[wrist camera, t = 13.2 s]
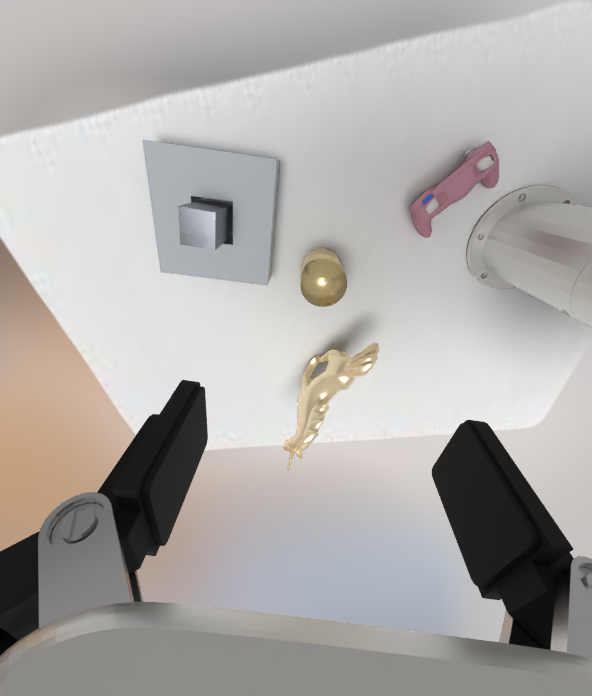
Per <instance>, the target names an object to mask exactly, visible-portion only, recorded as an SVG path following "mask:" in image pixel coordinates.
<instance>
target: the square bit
mask: <svg viewBox="0 0 592 696" xmlns="http://www.w3.org/2000/svg"><path fill="white" fill-rule="evenodd" d="M178 216H179V234H180V245H186V246H192V247H198V248H204V249H210V250H216V249H217V248H219V247H220V246H221V245H222V244H223V243H224V242H225V241H227V240H228V239H229V238H230V237H231V236H232V235H233V202H228V201H222V200H217V199H211V198H206V199H202V200H199V201H195V202H191V203H187V204H184V205H180V206H178Z"/></svg>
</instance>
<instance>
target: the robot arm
mask: <svg viewBox="0 0 592 696" xmlns="http://www.w3.org/2000/svg"><path fill="white" fill-rule="evenodd" d="M518 197H519V198H518ZM478 235H479V236H478ZM467 262H468V266H469V269H470V271H471V273H472V274H473V276H474V277H475V278H476V279H478V280H479V281H480V282H482V283H483V284H485V285H487V286H490V287H492V288H499V289H508V288H514V287H517V288H519V289H521V290H523V291H524V292H526V293H528V294H530V295H532V296H534V297H536V298H537V299H539V300H541V301H543V302H545V303H547V304H548V305H550V306H552V307H554V308H556V309H558V310H559V311H561V312H563V313H565V314H567V315H569V316H571V317H572V318H574V319H576V320H578V321H580V322H582V323H583V324H585V325H587V326H589V327H591V328H592V207H589V206H580V205H575V203H574V200H573V199H572V198H571V197H570V195H569V194H568V193H566V192H565V191H563V190H561V189H559V188H556V187H552V186H530V187H526V188H523V189H519V190H517V191H515V192H513V193H511V194H509V195H507V196H505V197H504V198H502V199H501V200H499V201H498V202H497V203H496V204H494V205H493V206H492V207H491V208H490V209H489V210H488V211H487V212H486V213H485V214H484V215H483V217H482V218H481V219H480V221H479V222H478V224H477V225H476V227H475V229H474V231H473V233H472V235H471V237H470V240H469V244H468V249H467ZM207 438H208V434H207V417H206V400H205V388H204V387H200V383H199V382H194V381H187V380H182V381H181V382H180V384H179V385H178V387H177V388H176V390H175V391H174V393H173V394H172V396H171V398H170V399H169V401H168V402H167V404H166V405H165V407H164V408H163V410H162V412H161V413H160V415H158V414H152V415H151V416H150V417H149V418H148V419H147V420H146V422H145V423H144V425H143V426H142V428H141V429H140V430H139V432H138V433H137V435H136V436H135V438H134V439H133V441H132V442H131V444H130V445H129V447H128V448H127V450H126V451H125V452H124V454H123V455H122V457H121V458H120V460H119V461H118V463H117V464H116V466H115V467H114V469H113V470H112V472H111V473H110V474H109V476H108V477H107V479H106V480H105V482H104V483H103V485H102V486H101V488H100V489H99V491H98V492H97V493H96V492H90V493H83V494H80V495H77V496H74V497H72V498H70V499H68V500H66V501H65V502H63V503H62V504H60V505H59V506H58V507H57V508H56V509H54V510H53V511H52V512H51V514H50V515H49V516H48V517H47V518H46V519H45V521H44V523H43V525H42V527H41V528H40V531H39V532H37V533H35V534H33V535H31V536H30V537H27V538H26V539H24V540H22V541H20V542H18V543H16V544H14V545H12V546H10V547H8V548H6V549H4V550H3V551H0V696H592V559H590V558H587V557H579V556H578V557H576V558H573V557H572V555H571V554H570V551H572V550H573V548H572V546H571V545H570V543H569V542H568V540H567V539H566V537H565V536H564V534H563V533H562V532H561V530H560V529H559V527H558V526H557V524H556V523H555V521H554V520H553V518H552V517H551V515H550V514H549V512H548V511H547V510H546V508H545V507H544V505H543V504H542V502H541V501H540V499H539V498H538V496H537V495H536V493H535V492H534V491H533V489H532V488H531V486H530V485H529V483H528V482H527V481H526V479H525V478H524V476H523V475H522V473H521V471H520V470H519V469H518V467H517V466H516V464H515V463H514V461H513V460H512V459H511V457H510V455H509V454H508V453H507V451H506V450H505V448H504V447H503V445H502V444H501V442H500V441H499V439H498V438H497V436H496V435H495V433H494V432H493V430H492V429H491V428H490V426H489V425H488V424H487V423H485V422H480V421H473V420H467V421H465V422H464V423H462V424H460V425H459V427H458V429H457V430H456V432H455V433H454V435H453V436H452V438H451V439H450V441H449V443H448V444H447V446H446V447H445V449H444V450H443V452H442V454H441V455H440V457H439V458H438V460H437V462H436V463H435V464H434V466H433V468H432V477H433V480H434V482H435V485H436V488H437V490H438V493H439V496H440V498H441V501H442V504H443V506H444V509H445V511H446V514H447V517H448V519H449V522H450V525H451V527H452V530H453V532H454V535H455V537H456V540H457V543H458V545H459V548H460V551H461V553H462V556H463V559H464V561H465V564H466V566H467V569H468V571H469V574H470V577H471V579H472V581H473V582H474V584H475V585H476V586H478V588H479V591H480V593H481V596H482V598H487V599H495V600H500V599H502V600H503V603H504V605H505V607H506V612H505V617H504V622H503V626H502V631H501V636H500V641H499V642H491V641H483V640H475V639H468V638H460V637H452V636H445V635H437V634H430V633H422V632H413V631H406V630H398V629H390V628H382V627H374V626H366V625H358V624H350V623H342V622H334V621H326V620H318V619H310V618H302V617H293V616H285V615H276V614H268V613H259V612H252V611H243V610H235V609H226V608H216V607H205V606H195V605H186V604H176V603H156V602H144V601H143V597H142V593H141V588H140V584H139V580H138V575H137V571H136V570H138V569H139V568H140V567H141V565H142V562H143V560H144V558H145V556H146V555H151V556H156V554H157V551H158V549H159V547H160V546H164V545H166V543H167V541H168V539H169V537H170V534H171V532H172V529H173V527H174V524H175V522H176V519H177V516H178V514H179V512H180V509H181V507H182V504H183V502H184V499H185V497H186V494H187V492H188V489H189V487H190V484H191V482H192V479H193V477H194V474H195V472H196V469H197V467H198V464H199V462H200V459H201V457H202V454H203V452H204V450H205V447H206V444H207Z"/></svg>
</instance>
